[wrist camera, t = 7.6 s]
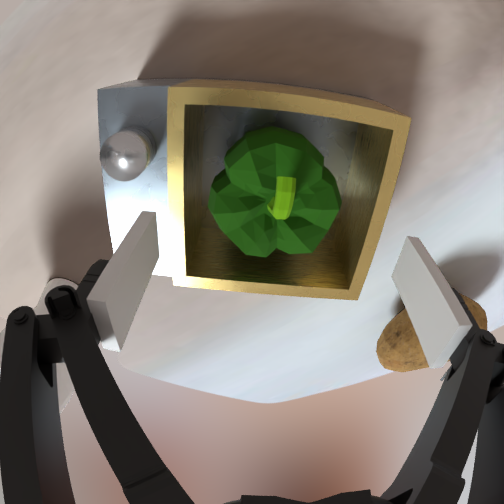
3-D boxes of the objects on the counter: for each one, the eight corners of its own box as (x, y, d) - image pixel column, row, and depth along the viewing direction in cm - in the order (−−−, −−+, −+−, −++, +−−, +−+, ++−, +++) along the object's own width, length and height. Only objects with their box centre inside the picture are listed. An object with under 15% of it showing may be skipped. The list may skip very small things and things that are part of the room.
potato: (363, 295, 34) (381, 351, 27) (471, 263, 31) (502, 309, 25) (370, 347, 39) (382, 397, 33) (462, 317, 36) (485, 362, 30)
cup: (40, 254, 32) (-27, 345, 20) (113, 294, 35) (65, 401, 23) (36, 306, 38) (-12, 387, 25) (98, 339, 40) (62, 430, 28)
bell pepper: (291, 229, 28) (305, 306, 20) (204, 190, 26) (181, 257, 18) (342, 149, 24) (387, 197, 16) (250, 99, 22) (247, 119, 14)
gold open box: (143, 226, 30) (108, 286, 22) (136, 79, 22) (81, 94, 15) (338, 243, 30) (360, 309, 23) (370, 99, 22) (418, 121, 15)
